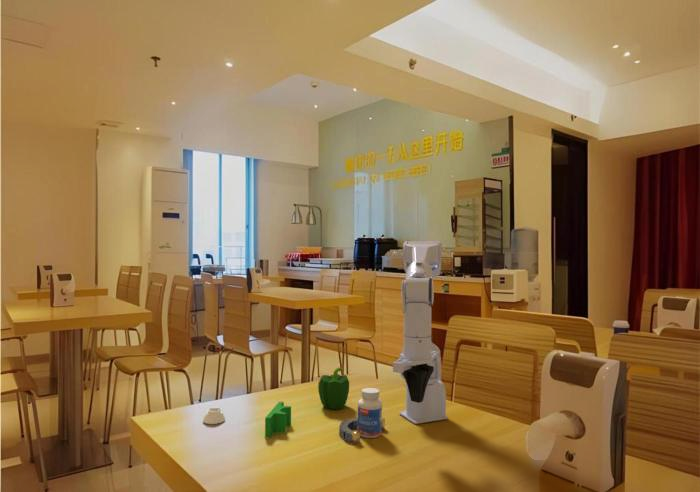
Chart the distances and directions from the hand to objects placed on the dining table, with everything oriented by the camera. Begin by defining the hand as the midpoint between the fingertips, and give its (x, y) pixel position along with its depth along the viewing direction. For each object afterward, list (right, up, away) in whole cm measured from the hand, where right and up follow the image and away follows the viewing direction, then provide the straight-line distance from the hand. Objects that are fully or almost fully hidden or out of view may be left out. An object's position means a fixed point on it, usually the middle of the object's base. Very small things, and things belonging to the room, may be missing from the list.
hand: (416, 401), depth 96 cm
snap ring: (-12, -10, +9) cm, 18 cm away
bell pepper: (-18, -10, +26) cm, 33 cm away
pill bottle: (-9, -10, +8) cm, 16 cm away
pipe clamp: (-30, -10, +11) cm, 34 cm away
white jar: (-46, -10, +15) cm, 50 cm away
